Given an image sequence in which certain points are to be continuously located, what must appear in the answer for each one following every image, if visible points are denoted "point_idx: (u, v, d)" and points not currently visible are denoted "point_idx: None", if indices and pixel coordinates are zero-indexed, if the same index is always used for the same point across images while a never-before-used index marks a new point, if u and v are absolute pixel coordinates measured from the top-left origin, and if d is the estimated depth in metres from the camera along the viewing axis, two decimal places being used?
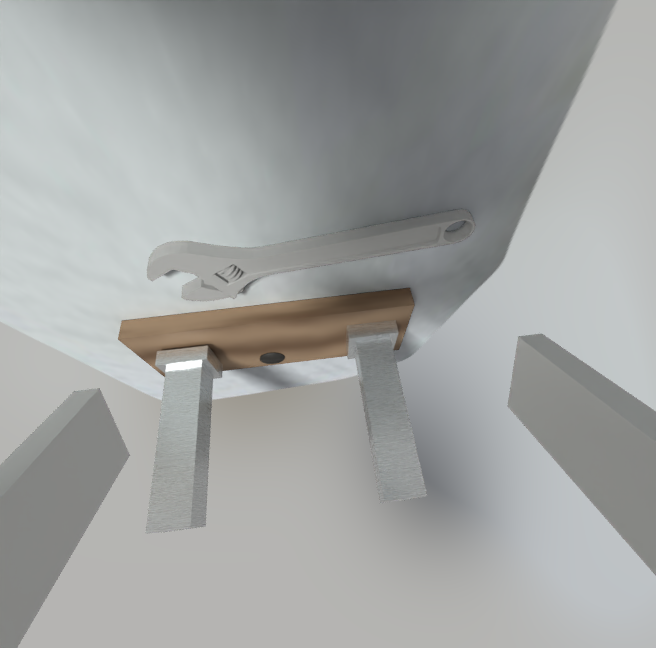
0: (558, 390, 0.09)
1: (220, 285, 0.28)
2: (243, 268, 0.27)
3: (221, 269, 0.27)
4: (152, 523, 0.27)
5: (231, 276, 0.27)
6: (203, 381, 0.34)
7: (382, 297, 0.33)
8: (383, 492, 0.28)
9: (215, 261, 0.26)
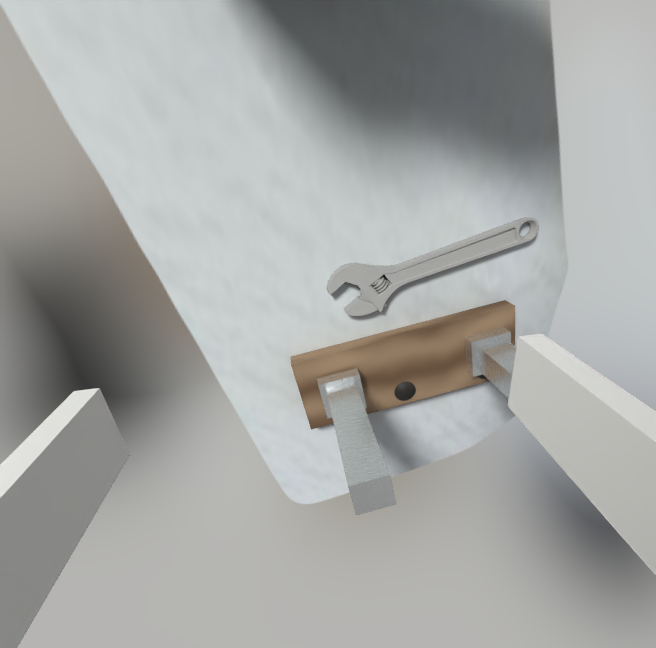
0: (558, 390, 0.09)
1: (373, 297, 0.40)
2: (390, 278, 0.39)
3: (376, 279, 0.39)
4: (352, 478, 0.28)
5: (382, 285, 0.39)
6: None
7: (486, 308, 0.43)
8: None
9: (373, 271, 0.39)
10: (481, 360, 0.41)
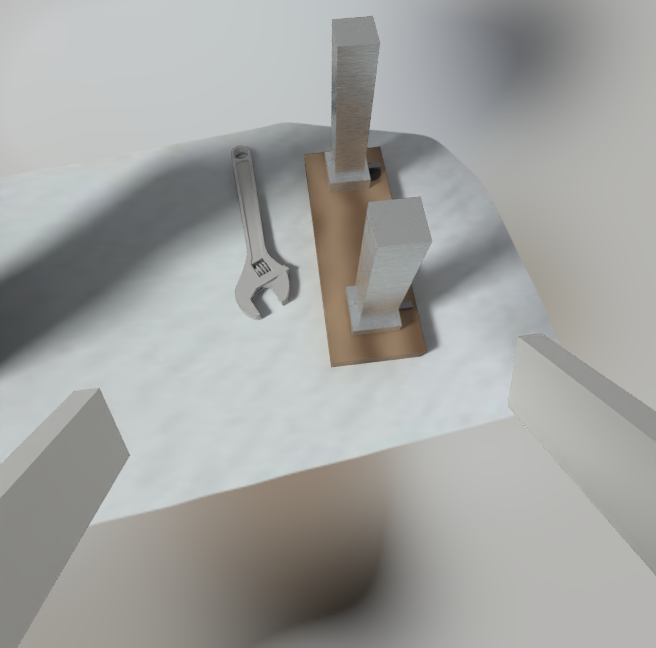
0: (558, 390, 0.09)
1: (271, 274, 0.40)
2: (256, 259, 0.41)
3: (254, 271, 0.40)
4: (374, 246, 0.22)
5: (261, 266, 0.40)
6: None
7: None
8: (338, 54, 0.29)
9: (246, 273, 0.40)
10: (348, 172, 0.41)
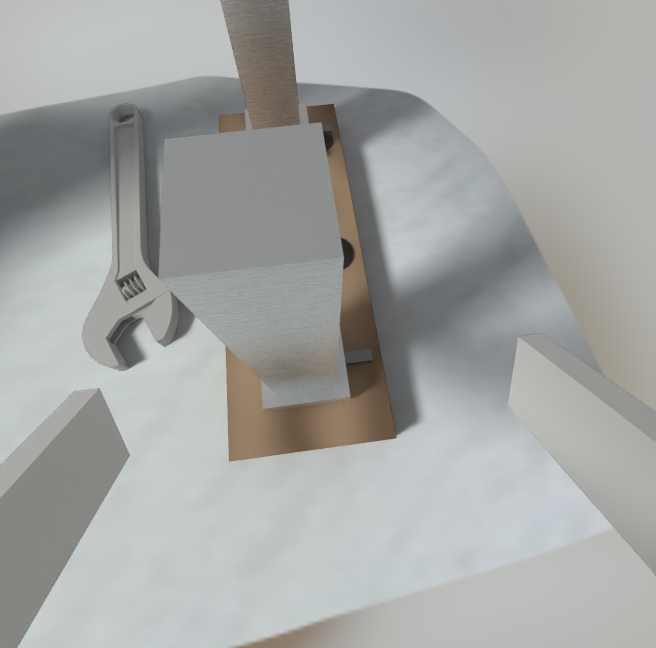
0: (558, 390, 0.09)
1: (145, 296, 0.25)
2: (125, 272, 0.26)
3: (119, 292, 0.25)
4: None
5: (130, 283, 0.25)
6: None
7: None
8: None
9: (105, 295, 0.25)
10: None
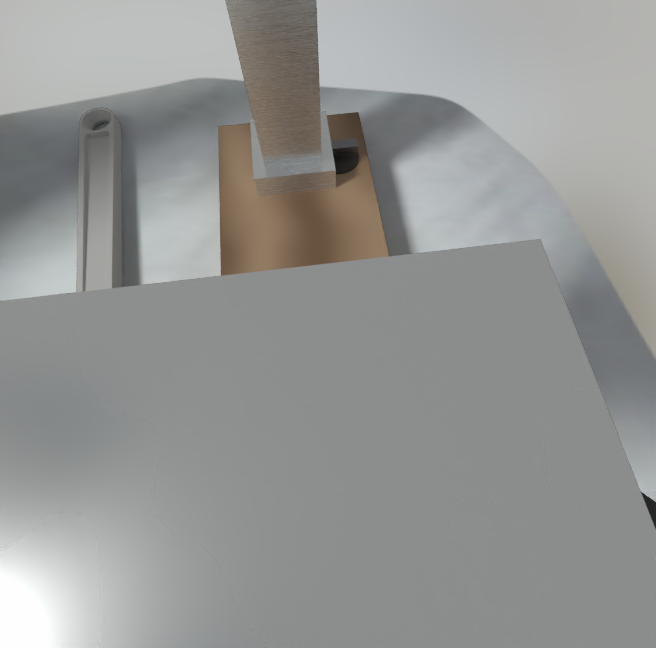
0: None
1: None
2: None
3: None
4: None
5: None
6: None
7: None
8: None
9: None
10: (289, 155, 0.20)
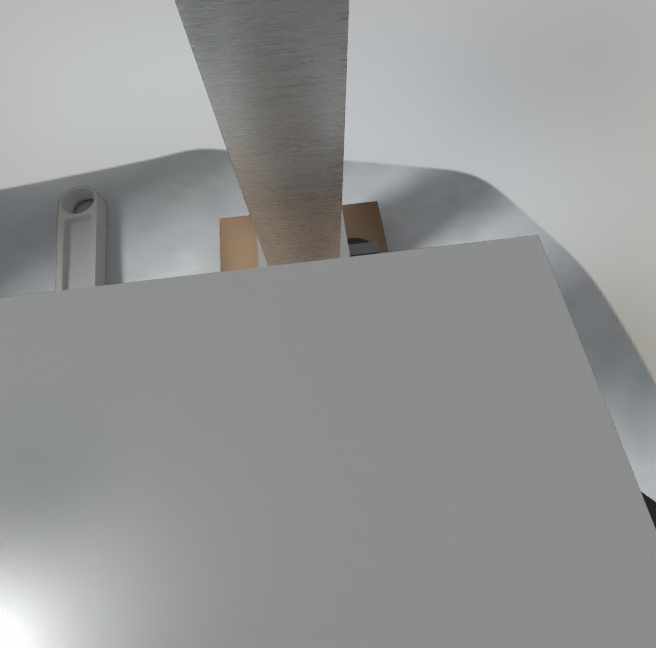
0: None
1: None
2: None
3: None
4: None
5: None
6: None
7: None
8: None
9: None
10: None
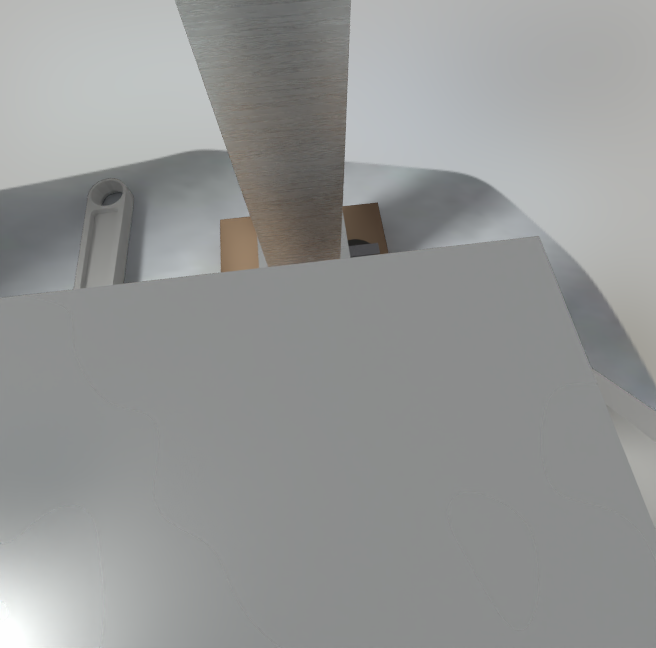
0: None
1: None
2: None
3: None
4: None
5: None
6: None
7: None
8: None
9: None
10: None
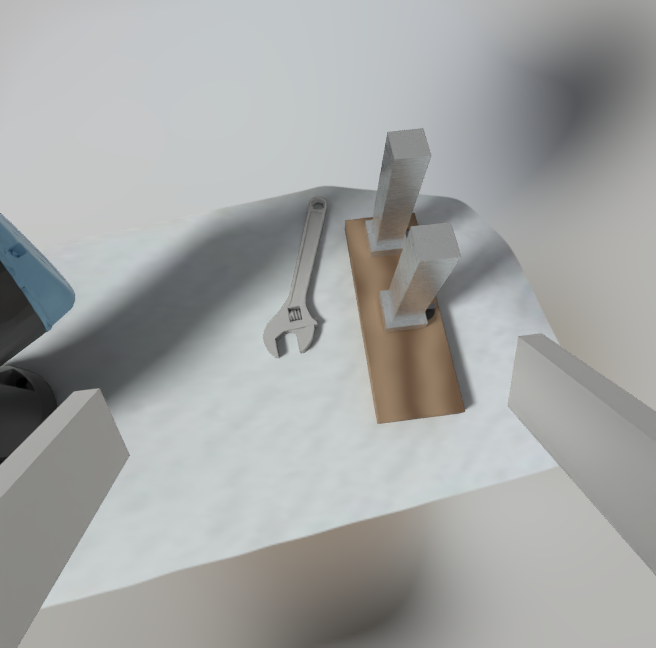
0: (558, 390, 0.09)
1: (300, 323, 0.45)
2: (293, 305, 0.46)
3: (288, 315, 0.45)
4: (416, 260, 0.29)
5: (295, 312, 0.45)
6: None
7: (347, 242, 0.49)
8: (394, 164, 0.33)
9: (280, 314, 0.45)
10: (388, 241, 0.45)
